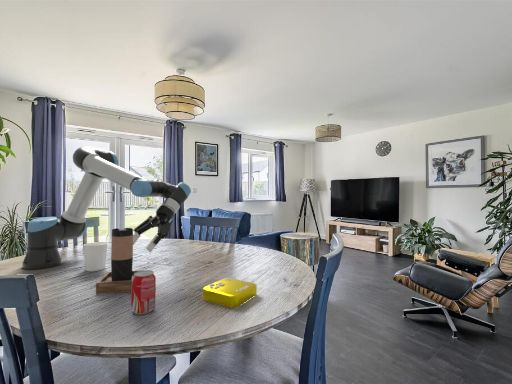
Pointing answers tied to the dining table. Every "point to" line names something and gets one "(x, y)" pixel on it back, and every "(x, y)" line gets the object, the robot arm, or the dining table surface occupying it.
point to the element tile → (229, 292)
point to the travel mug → (122, 254)
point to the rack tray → (113, 284)
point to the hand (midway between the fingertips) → (137, 248)
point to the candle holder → (95, 256)
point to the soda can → (143, 292)
